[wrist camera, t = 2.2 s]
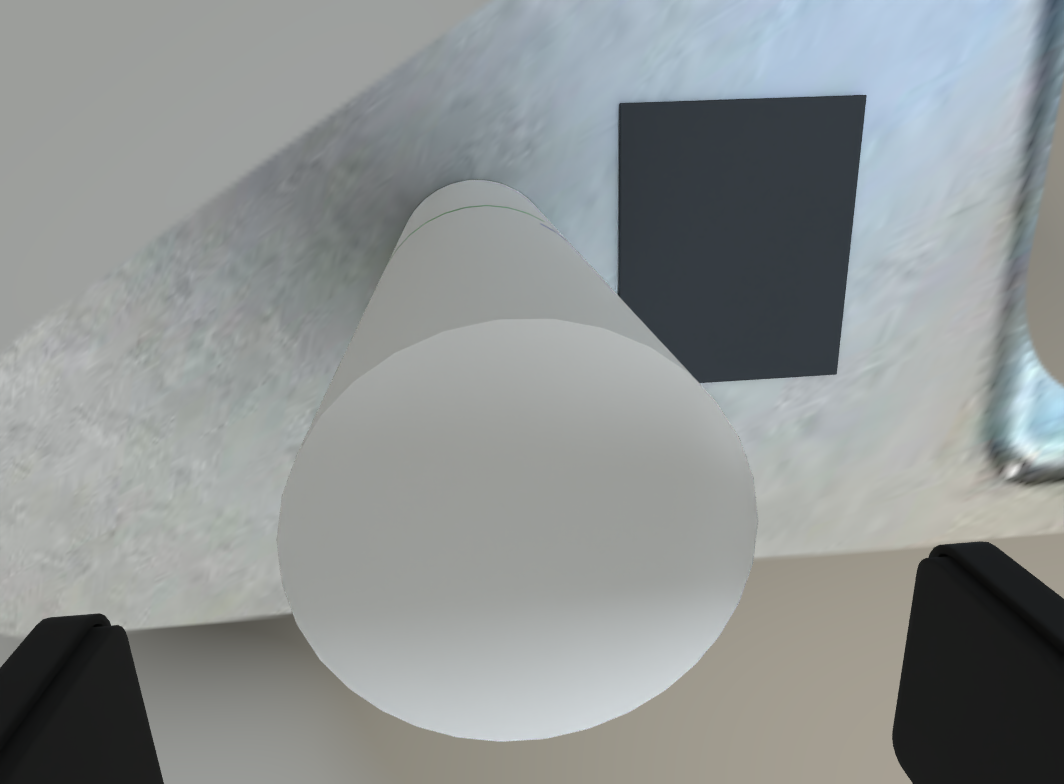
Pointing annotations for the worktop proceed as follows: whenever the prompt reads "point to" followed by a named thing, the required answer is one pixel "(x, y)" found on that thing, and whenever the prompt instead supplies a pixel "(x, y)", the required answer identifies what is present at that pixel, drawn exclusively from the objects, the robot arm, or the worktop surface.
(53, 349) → the worktop surface
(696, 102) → the mat
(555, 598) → the cylindrical container
